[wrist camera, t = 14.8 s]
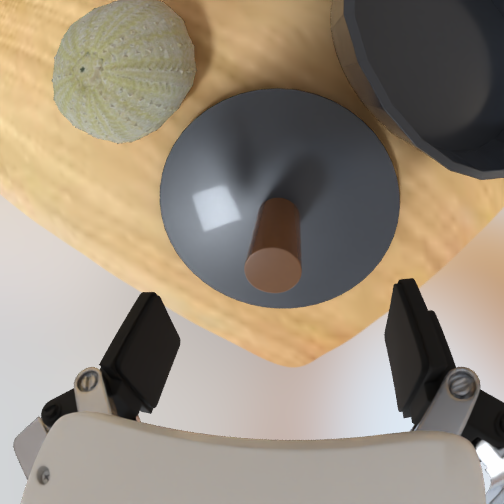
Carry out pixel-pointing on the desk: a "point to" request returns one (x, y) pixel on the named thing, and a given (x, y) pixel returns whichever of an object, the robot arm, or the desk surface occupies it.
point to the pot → (430, 75)
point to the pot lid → (279, 198)
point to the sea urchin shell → (123, 69)
